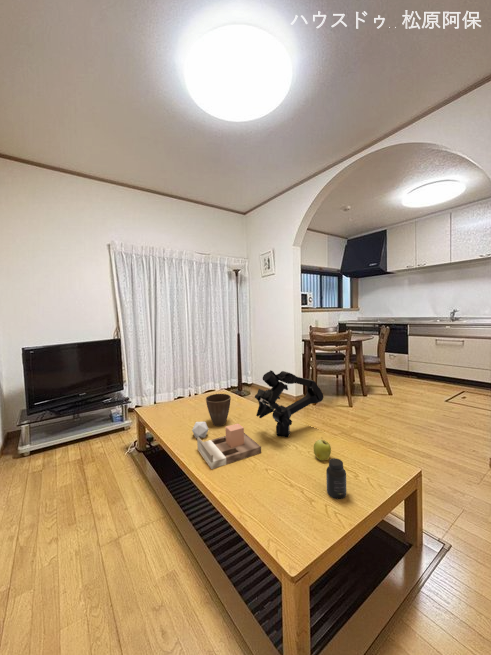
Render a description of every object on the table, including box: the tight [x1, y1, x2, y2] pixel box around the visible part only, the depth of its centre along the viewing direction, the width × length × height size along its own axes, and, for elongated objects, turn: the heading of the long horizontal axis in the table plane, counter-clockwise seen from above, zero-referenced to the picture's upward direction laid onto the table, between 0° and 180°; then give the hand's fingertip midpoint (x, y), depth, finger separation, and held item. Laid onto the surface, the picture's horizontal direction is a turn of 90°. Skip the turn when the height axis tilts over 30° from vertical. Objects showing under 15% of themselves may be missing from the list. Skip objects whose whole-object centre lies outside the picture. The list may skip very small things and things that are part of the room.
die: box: [191, 421, 209, 439], centre depth 143 cm, size 8×9×10 cm
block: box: [225, 423, 245, 448], centre depth 128 cm, size 7×6×8 cm
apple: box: [313, 438, 332, 461], centre depth 118 cm, size 8×8×10 cm
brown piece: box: [196, 432, 262, 470], centre depth 127 cm, size 25×19×6 cm
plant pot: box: [205, 393, 232, 427], centre depth 158 cm, size 15×15×16 cm
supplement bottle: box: [325, 457, 347, 500], centre depth 95 cm, size 7×7×12 cm
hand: (258, 416), depth 134 cm, fingers open, 2 cm apart
